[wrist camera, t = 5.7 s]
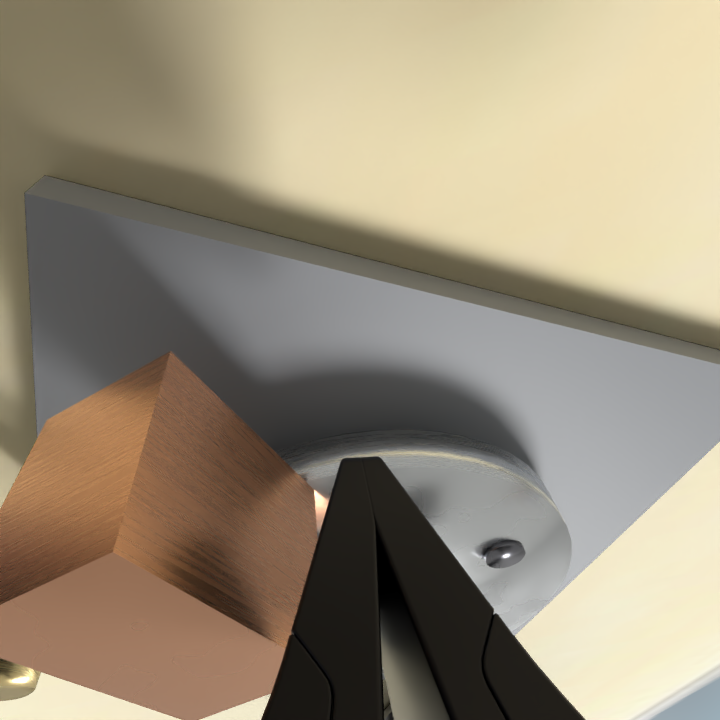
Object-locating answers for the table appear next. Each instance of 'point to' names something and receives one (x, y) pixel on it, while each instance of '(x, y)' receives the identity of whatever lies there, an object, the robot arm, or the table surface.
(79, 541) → the flange plate
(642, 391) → the base board
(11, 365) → the table surface
